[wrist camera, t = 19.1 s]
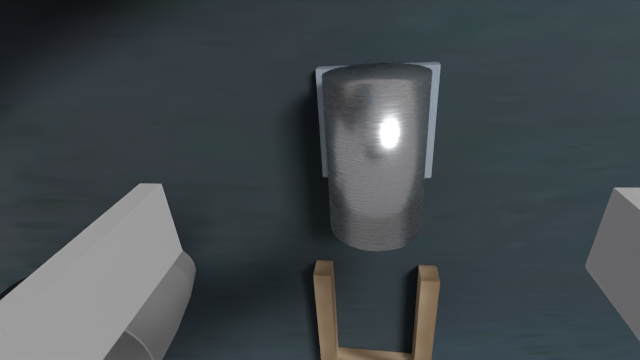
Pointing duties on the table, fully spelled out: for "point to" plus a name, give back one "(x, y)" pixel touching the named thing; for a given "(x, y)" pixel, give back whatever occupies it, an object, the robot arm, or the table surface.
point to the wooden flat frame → (335, 356)
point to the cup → (157, 316)
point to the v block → (432, 113)
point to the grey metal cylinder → (376, 152)
